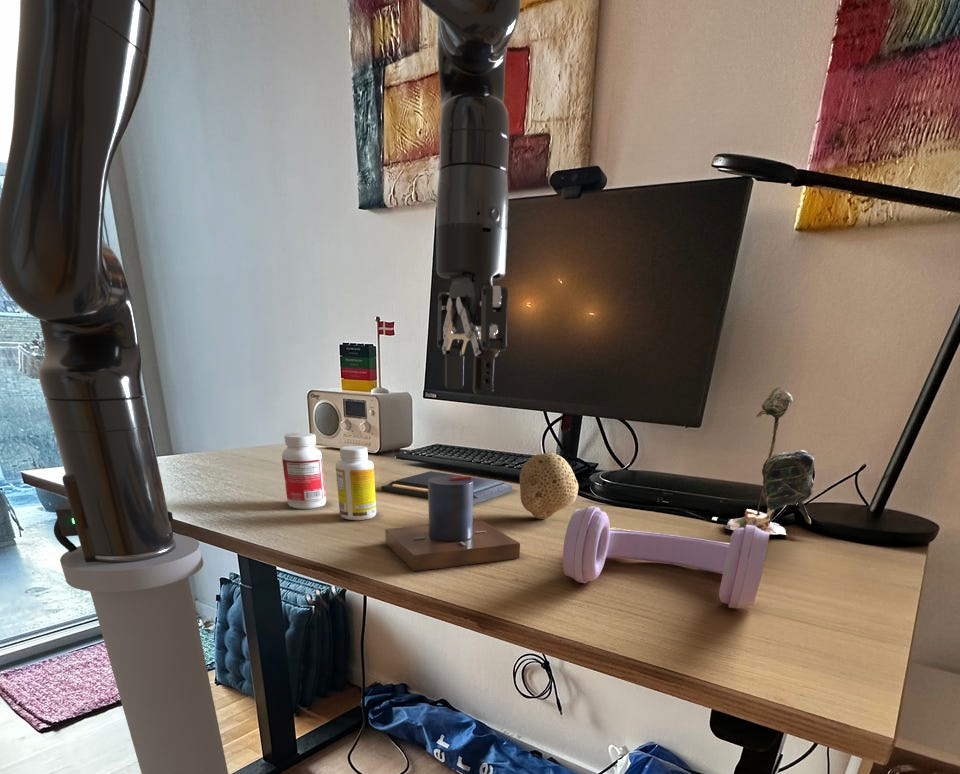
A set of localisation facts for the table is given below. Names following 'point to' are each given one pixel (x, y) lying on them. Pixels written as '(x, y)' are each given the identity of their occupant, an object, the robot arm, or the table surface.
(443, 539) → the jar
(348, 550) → the table surface
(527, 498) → the natural sponge
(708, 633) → the table surface
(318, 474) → the pill bottle
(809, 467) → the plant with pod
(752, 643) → the table surface
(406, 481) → the dark blue book
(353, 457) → the supplement bottle
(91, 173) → the robot arm
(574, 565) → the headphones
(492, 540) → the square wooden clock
